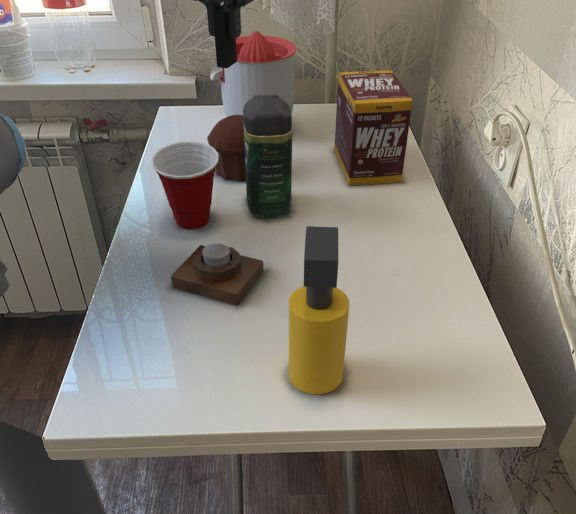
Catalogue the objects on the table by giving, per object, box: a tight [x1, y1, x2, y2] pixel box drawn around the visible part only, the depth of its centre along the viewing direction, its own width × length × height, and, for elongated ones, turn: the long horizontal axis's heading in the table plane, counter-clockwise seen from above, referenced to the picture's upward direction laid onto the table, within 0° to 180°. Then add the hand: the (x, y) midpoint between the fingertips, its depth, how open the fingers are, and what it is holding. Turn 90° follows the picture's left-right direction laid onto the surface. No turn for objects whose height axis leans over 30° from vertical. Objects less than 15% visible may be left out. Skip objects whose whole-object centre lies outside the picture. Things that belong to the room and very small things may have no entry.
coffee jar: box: [243, 95, 293, 219], centre depth 104 cm, size 10×8×19 cm
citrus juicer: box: [209, 30, 297, 117], centre depth 126 cm, size 16×17×20 cm
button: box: [203, 242, 230, 267], centre depth 91 cm, size 4×4×2 cm
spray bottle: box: [288, 225, 350, 395], centre depth 73 cm, size 8×7×20 cm
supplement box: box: [333, 70, 414, 186], centre depth 116 cm, size 10×15×16 cm
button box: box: [170, 244, 265, 307], centre depth 93 cm, size 11×9×4 cm
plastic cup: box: [150, 140, 218, 230], centre depth 102 cm, size 11×11×12 cm
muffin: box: [206, 115, 246, 182], centre depth 117 cm, size 12×11×10 cm
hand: (227, 64), depth 79 cm, fingers closed
